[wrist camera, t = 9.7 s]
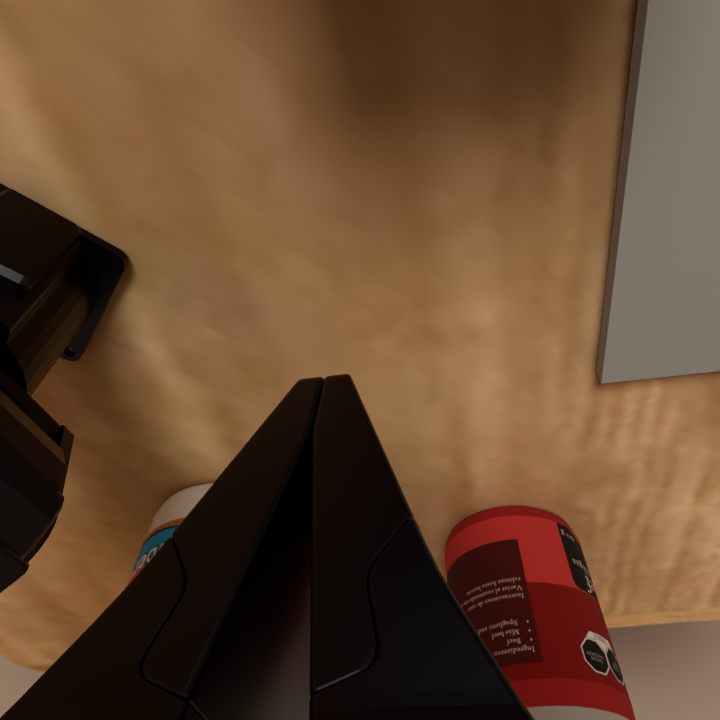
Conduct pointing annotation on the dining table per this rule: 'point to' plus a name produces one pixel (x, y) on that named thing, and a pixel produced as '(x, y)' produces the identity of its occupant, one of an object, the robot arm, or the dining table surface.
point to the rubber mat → (667, 201)
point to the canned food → (537, 612)
